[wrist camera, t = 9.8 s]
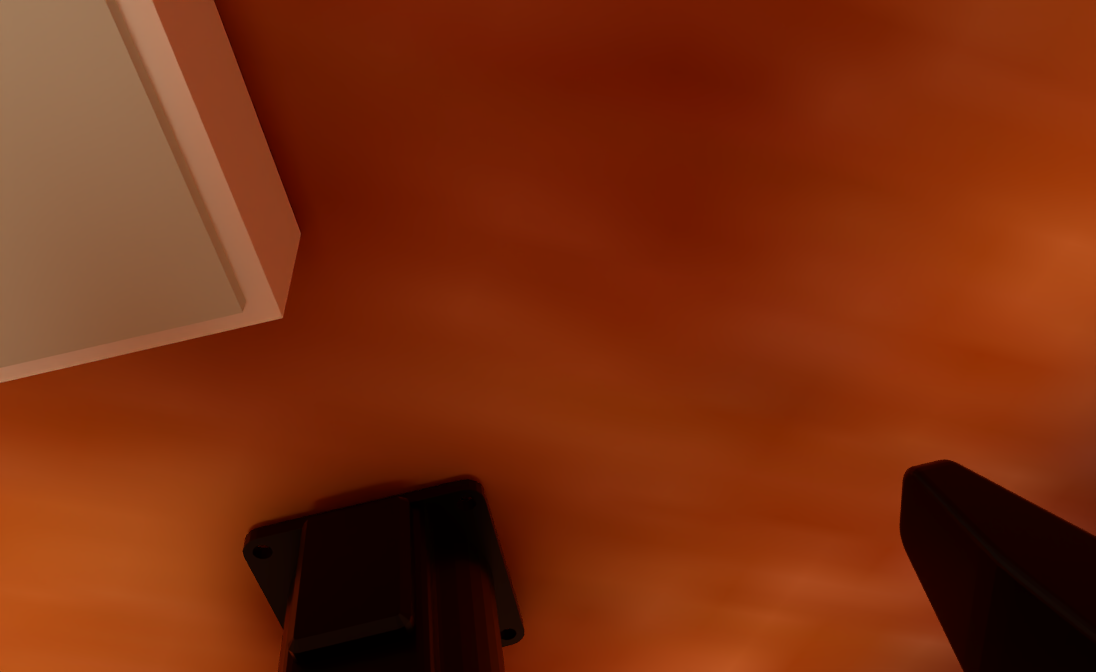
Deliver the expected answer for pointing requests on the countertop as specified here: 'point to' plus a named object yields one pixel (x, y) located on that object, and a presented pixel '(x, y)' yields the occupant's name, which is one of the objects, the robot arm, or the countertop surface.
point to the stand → (130, 184)
